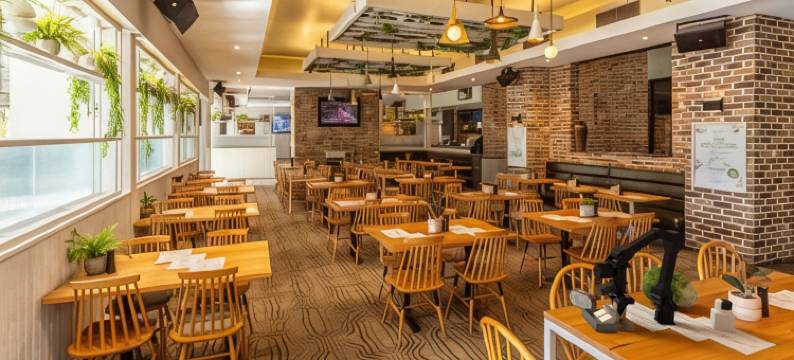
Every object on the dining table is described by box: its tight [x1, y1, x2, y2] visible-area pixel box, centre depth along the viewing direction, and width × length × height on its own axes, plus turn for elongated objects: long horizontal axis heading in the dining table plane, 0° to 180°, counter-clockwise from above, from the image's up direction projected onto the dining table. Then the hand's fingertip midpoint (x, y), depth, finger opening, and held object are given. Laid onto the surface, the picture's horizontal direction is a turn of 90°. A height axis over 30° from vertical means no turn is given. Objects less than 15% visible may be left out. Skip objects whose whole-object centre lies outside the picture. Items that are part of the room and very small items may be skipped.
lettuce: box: [641, 266, 698, 309], centre depth 228 cm, size 19×23×18 cm
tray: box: [581, 307, 617, 333], centre depth 206 cm, size 8×18×4 cm, turn 177°
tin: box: [568, 287, 598, 310], centre depth 225 cm, size 15×3×8 cm, turn 23°
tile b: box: [598, 314, 615, 323], centre depth 203 cm, size 4×4×2 cm
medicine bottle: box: [709, 298, 737, 333], centre depth 202 cm, size 7×7×12 cm
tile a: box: [594, 308, 607, 322], centre depth 209 cm, size 4×4×2 cm
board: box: [614, 316, 636, 332], centre depth 206 cm, size 8×14×2 cm, turn 177°
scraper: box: [603, 299, 628, 322], centre depth 205 cm, size 6×13×7 cm, turn 177°
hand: (617, 314), depth 205 cm, fingers closed on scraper, 4 cm apart
